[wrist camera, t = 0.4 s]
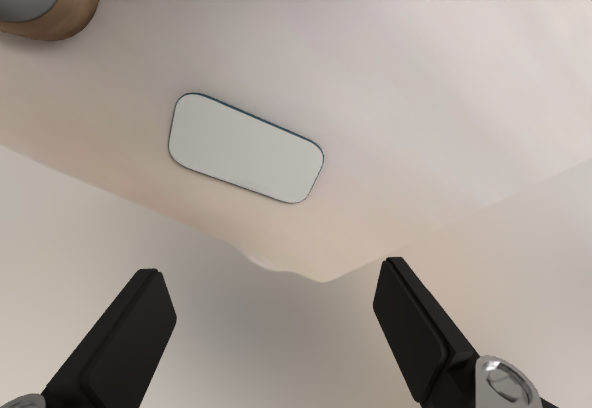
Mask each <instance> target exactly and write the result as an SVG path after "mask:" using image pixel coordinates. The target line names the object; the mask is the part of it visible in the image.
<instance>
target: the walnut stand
mask: <svg viewBox="0 0 592 408" xmlns="http://www.w3.org/2000/svg"><path fill="white" fill-rule="evenodd" d="M98 2H99V0H0V31H3V32H7V33H11V34H15V35H19V36H24V37H28V38H32V39H38V40H45V41H55V40H61V39H65V38H68V37H71V36H73V35H75V34H77V33H78V32H80V31H81V30H82V29H83V28H84V27H86V26H87V24H88V23H89V22H90V20H91V19H92V17H93V15H94V13H95V11H96V8H97V5H98Z"/></svg>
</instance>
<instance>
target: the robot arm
mask: <svg viewBox="0 0 592 408" xmlns="http://www.w3.org/2000/svg"><path fill="white" fill-rule="evenodd" d="M373 309H374V312H375V314H376V317H377V319H378V321H379V323H380V325H381V328H382V330H383V332H384V334H385V337H386V339H387V341H388V343H389V346H390V348H391V350H392V352H393V355H394V357H395V359H396V361H397V363H398V365H399V368H400V370H401V372H402V374H403V377H404V379H405V381H406V383H407V385H408V388H409V390H410V392H411V394H412V396H413V398H414V400H415V401H416V402H419V403H420V405H421V407H422V408H558V407H556V406H555V405H553V404H551V403H549V402H547V401H546V400H544V399H542V398H541V397H539V394H538V392H537V389H536V388H535V387H534V385H533V384H532V382H531V381H530V380H529V379H528V378H527V377H526V376H525V375H524V374H523V373H522V372H521V371H520V370H518V369H517V368H516V367H515V366H513V365H512V364H510V363H508V362H506V361H505V360H503V359H500V358H497V357H495V356H488V355H486V356H481V357H480V356H479V354H478V353H477V352H476V350H475V349H474V348H473V347H472V345H471V344H470V343H469V342H468V340H467V339H466V338H465V336H464V335H463V334H462V333H461V331H460V330H459V329H458V327H456V325H455V324H454V322H453V321H452V320H451V318H450V317H449V316H448V315H447V313H446V312H445V311H444V309H443V308H442V307H441V306H440V304H439V303H438V302H437V300H436V299H435V298H434V297H433V295H432V294H431V293H430V292H429V291H428V290H427V289H426V287H425V286H424V285H423V284H422V282H421V281H420V280H419V278H418V277H417V276H416V275H415V273H414V272H413V271H412V269H411V268H410V267H409V265H408V264H407V263H406V262H405V261H404V259H403V258H402V257H388V258H387V259H386V261H383V262H382V266H381V270H380V275H379V279H378V283H377V288H376V293H375V297H374V301H373ZM176 319H177V317H176V313H175V310H174V307H173V304H172V302H171V298H170V295H169V293H168V289H167V287H166V284H165V281H164V278H163V275H162V273H161V272H158V270H157V269H140V270H138V271H137V272H136V273H135V274H134V276H133V277H132V278H131V279H130V281H129V282H128V283H127V284H126V286H125V287H124V288H123V290H122V291H121V292H120V293H119V295H118V296H117V297H116V298H115V300H114V301H113V302H112V303H111V305H110V306H109V307H108V308H107V310H106V311H105V313H103V315H102V316H101V317H100V319H99V320H98V321H97V322H96V324H95V325H94V326H93V328H92V329H91V330H90V331H89V332H88V334H87V335H86V336H85V338H84V339H83V340H82V341H81V343H80V344H79V345H78V346H77V348H76V349H75V350H74V351H73V353H72V354H71V355H70V357H69V358H68V359H67V360H66V361H65V363H64V364H63V365H62V366H61V368H60V369H59V370H58V372H57V373H56V374H55V375H54V377H53V378H52V379H51V381H50V382H49V383H48V384H47V385H46V386H47V387H46V388H45V389H44V390H43V392H42V393H41V394H27V395H24V396H21V397H18V398H16V399H14V400H12V401H10V402H8V403H6V404H5V405H3V406H1V407H0V408H139V407H140V404H141V402H142V400H143V397H144V395H145V393H146V390H147V388H148V386H149V384H150V381H151V379H152V377H153V375H154V372H155V370H156V368H157V366H158V363H159V361H160V359H161V357H162V354H163V352H164V350H165V347H166V345H167V343H168V341H169V338H170V336H171V334H172V331H173V329H174V327H175V324H176Z"/></svg>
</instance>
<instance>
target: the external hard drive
mask: <svg viewBox="0 0 592 408" xmlns="http://www.w3.org/2000/svg"><path fill="white" fill-rule="evenodd" d="M168 147H169V152H170V154H171V156H172V157H173V159H174V160H175V161H176V162H178V163H179V164H180V165H182V166H184V167H186V168H188V169H191V170H194V171H196V172H199V173H202V174H205V175H208V176H211V177H214V178H217V179H219V180H222V181H225V182H228V183H231V184H234V185H237V186H240V187H242V188H245V189H248V190H251V191H254V192H257V193H260V194H263V195H265V196H268V197H271V198H274V199H277V200H280V201H283V202H287V203H299V202H301V201H303V200H304V199H305V198H306V197H307V196H308V195H309V193H310V191H311V189H312V187H313V185H314V183H315V181H316V178H317V176H318V174H319V172H320V170H321V168H322V165H323V162H324V155H323V152H322V150H321V148H320V147H319V146H318V145H317V144H316V143H314V142H313V141H311V140H309V139H307V138H305V137H303V136H300V135H298V134H296V133H293V132H291V131H289V130H286V129H284V128H282V127H279V126H277V125H275V124H273V123H270V122H268V121H266V120H263V119H261V118H259V117H256V116H254V115H252V114H249V113H247V112H245V111H242V110H240V109H238V108H236V107H233V106H231V105H229V104H226V103H224V102H222V101H219V100H217V99H215V98H212V97H210V96H207V95H205V94H200V93H187V94H185V95H183V96H181V97H180V98H179V99H178V101H177V103H176V106H175V110H174V115H173V120H172V126H171V131H170V136H169V144H168Z"/></svg>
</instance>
